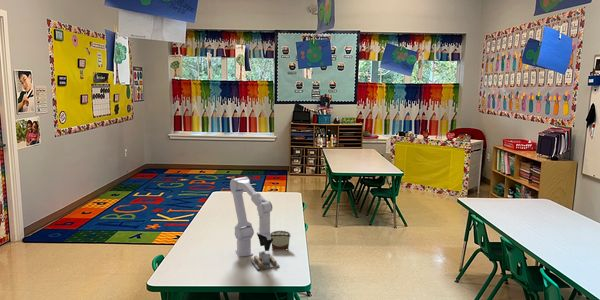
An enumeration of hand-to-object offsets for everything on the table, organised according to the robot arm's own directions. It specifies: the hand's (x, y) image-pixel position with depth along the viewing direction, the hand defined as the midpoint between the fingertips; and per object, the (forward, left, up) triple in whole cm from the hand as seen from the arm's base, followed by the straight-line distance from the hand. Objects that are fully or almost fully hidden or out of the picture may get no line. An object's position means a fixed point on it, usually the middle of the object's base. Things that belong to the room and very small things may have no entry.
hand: (264, 248), depth 238 cm
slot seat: (0, 0, -9) cm, 9 cm away
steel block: (0, 0, -8) cm, 8 cm away
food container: (-19, +16, -10) cm, 27 cm away
